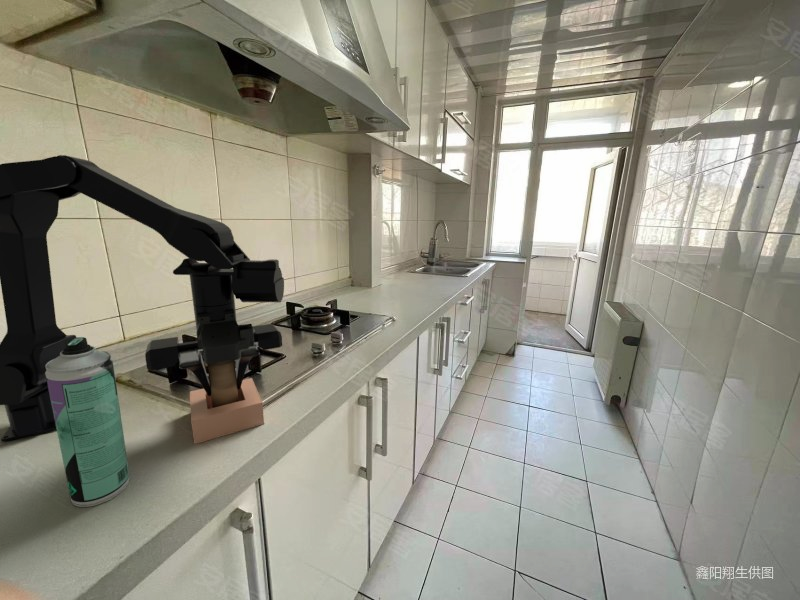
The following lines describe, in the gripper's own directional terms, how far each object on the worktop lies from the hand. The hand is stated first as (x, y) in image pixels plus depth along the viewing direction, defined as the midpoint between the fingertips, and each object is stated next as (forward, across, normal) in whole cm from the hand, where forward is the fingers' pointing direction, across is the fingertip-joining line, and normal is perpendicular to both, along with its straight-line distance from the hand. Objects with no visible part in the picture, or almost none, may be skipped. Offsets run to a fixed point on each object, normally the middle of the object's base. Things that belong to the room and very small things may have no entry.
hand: (224, 391), depth 55 cm
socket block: (+5, 0, 0) cm, 5 cm away
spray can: (+5, -15, -9) cm, 18 cm away
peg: (+2, 0, 0) cm, 3 cm away
